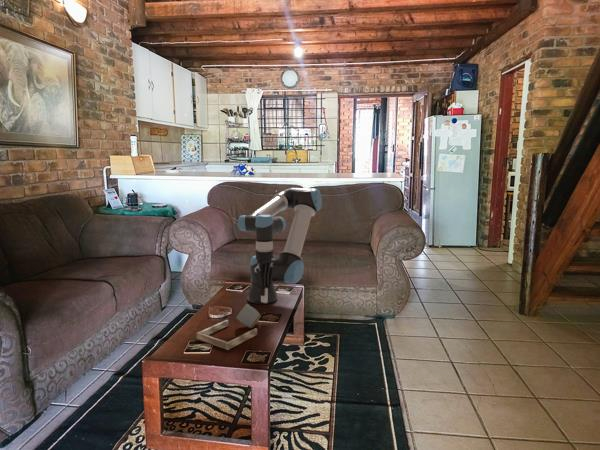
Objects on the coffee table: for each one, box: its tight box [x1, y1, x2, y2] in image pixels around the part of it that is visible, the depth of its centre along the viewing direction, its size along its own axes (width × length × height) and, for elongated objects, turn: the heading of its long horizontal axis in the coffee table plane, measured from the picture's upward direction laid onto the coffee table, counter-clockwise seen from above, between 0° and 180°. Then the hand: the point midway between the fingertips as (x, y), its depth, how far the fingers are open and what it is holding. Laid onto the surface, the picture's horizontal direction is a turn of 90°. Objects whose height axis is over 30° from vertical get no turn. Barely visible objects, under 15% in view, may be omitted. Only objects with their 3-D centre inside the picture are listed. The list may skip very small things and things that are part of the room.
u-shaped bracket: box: [196, 319, 258, 351], centre depth 167 cm, size 17×17×2 cm
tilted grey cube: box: [236, 303, 262, 329], centre depth 177 cm, size 11×8×8 cm
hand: (264, 302), depth 185 cm, fingers closed
